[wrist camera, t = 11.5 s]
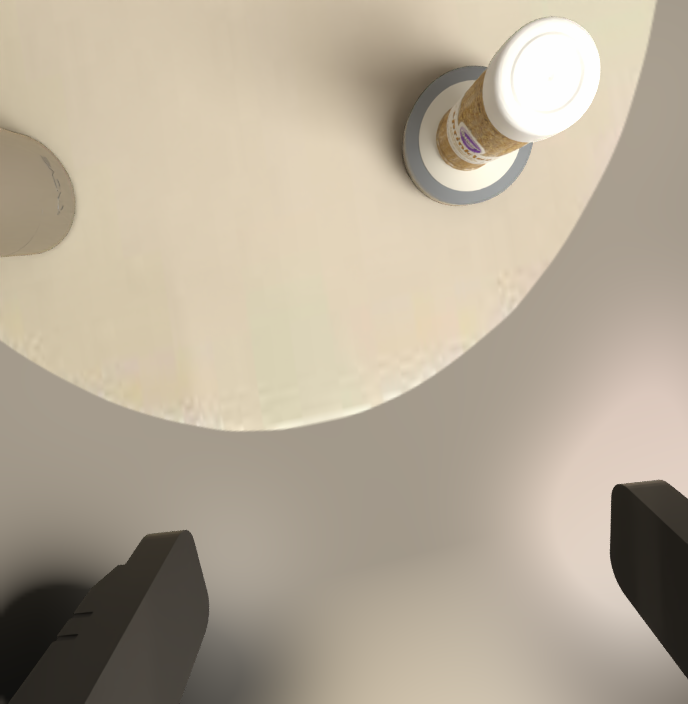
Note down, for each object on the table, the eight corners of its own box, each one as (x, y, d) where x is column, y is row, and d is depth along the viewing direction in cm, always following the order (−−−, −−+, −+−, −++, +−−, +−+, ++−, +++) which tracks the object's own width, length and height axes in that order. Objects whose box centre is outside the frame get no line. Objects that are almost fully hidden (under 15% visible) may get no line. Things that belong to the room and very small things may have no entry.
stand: (408, 213, 36) (412, 212, 33) (396, 87, 33) (400, 76, 31) (522, 197, 35) (536, 194, 33) (519, 68, 33) (533, 55, 30)
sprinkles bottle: (422, 149, 32) (472, 95, 19) (460, 88, 31) (540, -14, 18) (474, 185, 33) (558, 156, 20) (513, 126, 32) (628, 54, 19)
